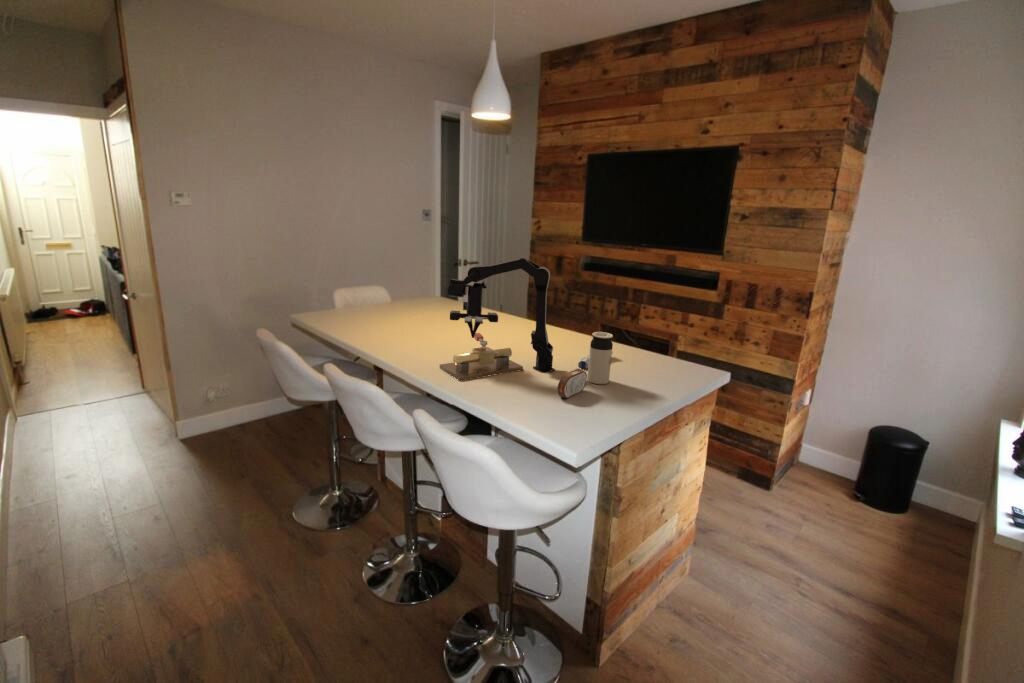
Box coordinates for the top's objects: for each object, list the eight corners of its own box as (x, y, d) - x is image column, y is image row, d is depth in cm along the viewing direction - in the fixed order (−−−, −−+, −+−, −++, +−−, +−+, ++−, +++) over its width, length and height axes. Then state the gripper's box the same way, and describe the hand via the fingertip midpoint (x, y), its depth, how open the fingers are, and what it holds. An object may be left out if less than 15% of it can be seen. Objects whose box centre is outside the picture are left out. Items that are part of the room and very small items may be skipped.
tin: (579, 388, 171) (581, 365, 169) (587, 390, 170) (589, 367, 167) (555, 399, 160) (557, 375, 158) (563, 401, 158) (565, 377, 156)
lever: (488, 345, 182) (488, 341, 182) (481, 346, 181) (481, 342, 181) (479, 336, 195) (479, 332, 194) (472, 336, 194) (472, 333, 193)
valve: (522, 370, 188) (524, 345, 185) (459, 381, 172) (459, 354, 170) (500, 358, 200) (501, 335, 198) (439, 368, 185) (439, 343, 182)
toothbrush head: (576, 359, 193) (604, 339, 211) (576, 374, 195) (603, 353, 214) (588, 362, 190) (615, 342, 208) (588, 377, 192) (614, 356, 211)
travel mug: (584, 382, 178) (588, 334, 173) (591, 376, 185) (595, 330, 180) (604, 386, 174) (610, 338, 170) (611, 380, 181) (616, 334, 176)
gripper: (497, 296, 196) (494, 334, 199) (450, 294, 193) (449, 331, 197) (499, 301, 185) (496, 340, 189) (450, 298, 182) (448, 338, 186)
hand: (472, 337), depth 190 cm, fingers closed
